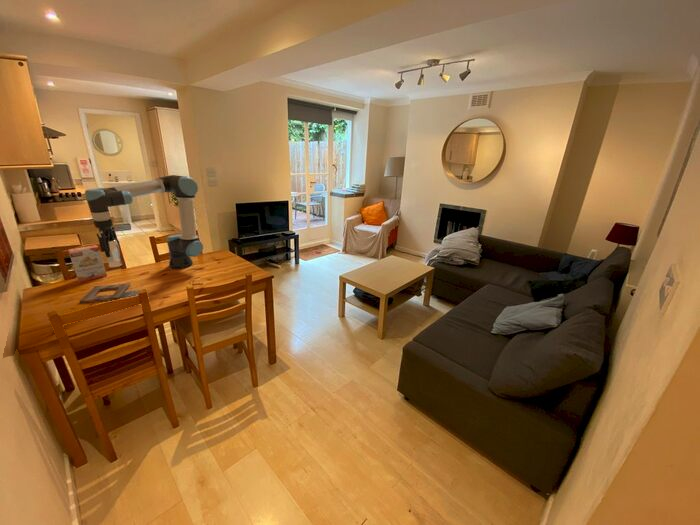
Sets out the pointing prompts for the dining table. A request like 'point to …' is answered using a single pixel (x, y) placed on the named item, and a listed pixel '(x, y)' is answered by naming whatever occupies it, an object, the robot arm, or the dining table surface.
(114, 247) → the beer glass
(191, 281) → the dining table surface
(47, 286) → the dining table surface
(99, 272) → the cracker box
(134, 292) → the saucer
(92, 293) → the pocket frame
